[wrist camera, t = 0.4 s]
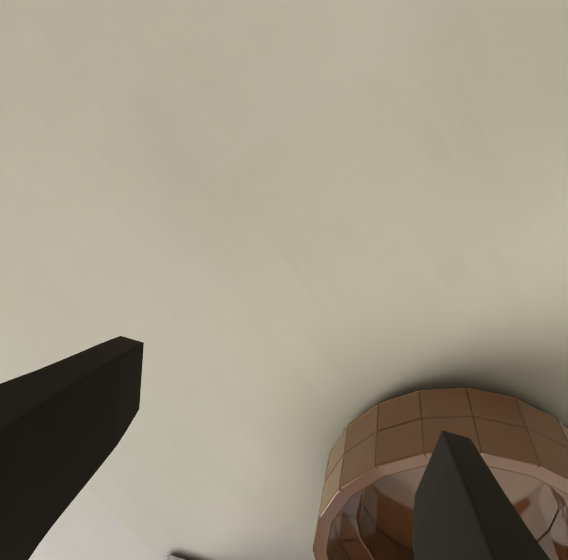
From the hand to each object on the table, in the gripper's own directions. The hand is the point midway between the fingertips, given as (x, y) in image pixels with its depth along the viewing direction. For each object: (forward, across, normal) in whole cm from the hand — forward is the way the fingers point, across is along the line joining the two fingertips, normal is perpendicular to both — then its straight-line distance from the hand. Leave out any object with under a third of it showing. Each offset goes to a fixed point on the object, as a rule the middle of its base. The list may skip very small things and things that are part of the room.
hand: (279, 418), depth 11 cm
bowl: (+10, -8, +9) cm, 16 cm away
